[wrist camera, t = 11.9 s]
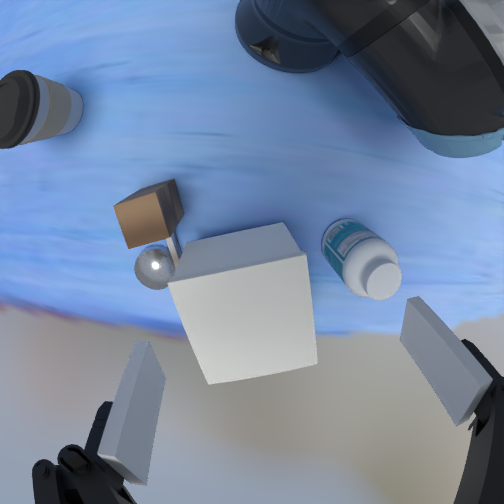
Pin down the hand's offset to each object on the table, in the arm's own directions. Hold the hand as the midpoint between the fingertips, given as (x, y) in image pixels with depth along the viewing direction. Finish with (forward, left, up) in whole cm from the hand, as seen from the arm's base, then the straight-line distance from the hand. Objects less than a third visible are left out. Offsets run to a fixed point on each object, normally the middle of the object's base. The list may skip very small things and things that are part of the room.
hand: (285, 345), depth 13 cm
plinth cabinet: (+8, -2, -28) cm, 29 cm away
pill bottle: (+8, +13, -28) cm, 32 cm away
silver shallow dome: (+5, -15, -28) cm, 32 cm away
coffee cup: (-21, -23, -28) cm, 42 cm away
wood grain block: (+1, -11, -28) cm, 30 cm away
